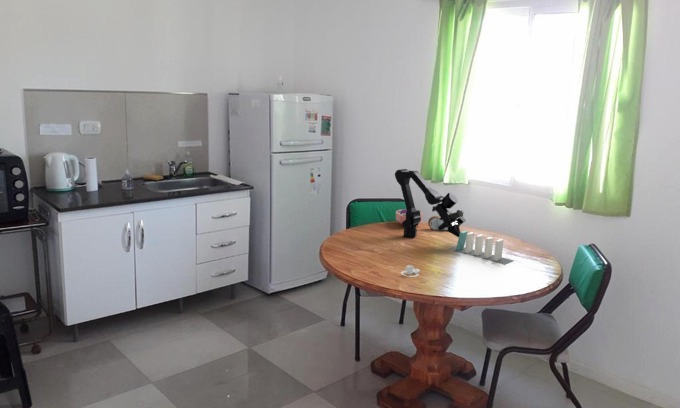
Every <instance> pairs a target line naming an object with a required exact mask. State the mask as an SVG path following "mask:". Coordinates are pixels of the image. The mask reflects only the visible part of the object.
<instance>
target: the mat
mask: <svg viewBox="0 0 680 408" xmlns="http://www.w3.org/2000/svg"><path fill="white" fill-rule="evenodd" d="M456 247H457V245H455V246H453V247H449V248H447V250H449V251H452V252H456V253H461V254H462V255H468V256H471V257H473V258H478V259H481V260H485V261H488V262H492V263H496V264H500V265H504V266H505V265H508V264H510V263H513V262H514V261H515V260H513V259H510V258H506V257H502V259H500V260H498V261H495V260H494V254H492V256H491V257H488V258H484V251H482V254H480V255H474V251H475V249H473V251H472V252H469V253H466V252H465V246H464V248H463V249H461V250H459V251H458V250H456Z"/></svg>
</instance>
